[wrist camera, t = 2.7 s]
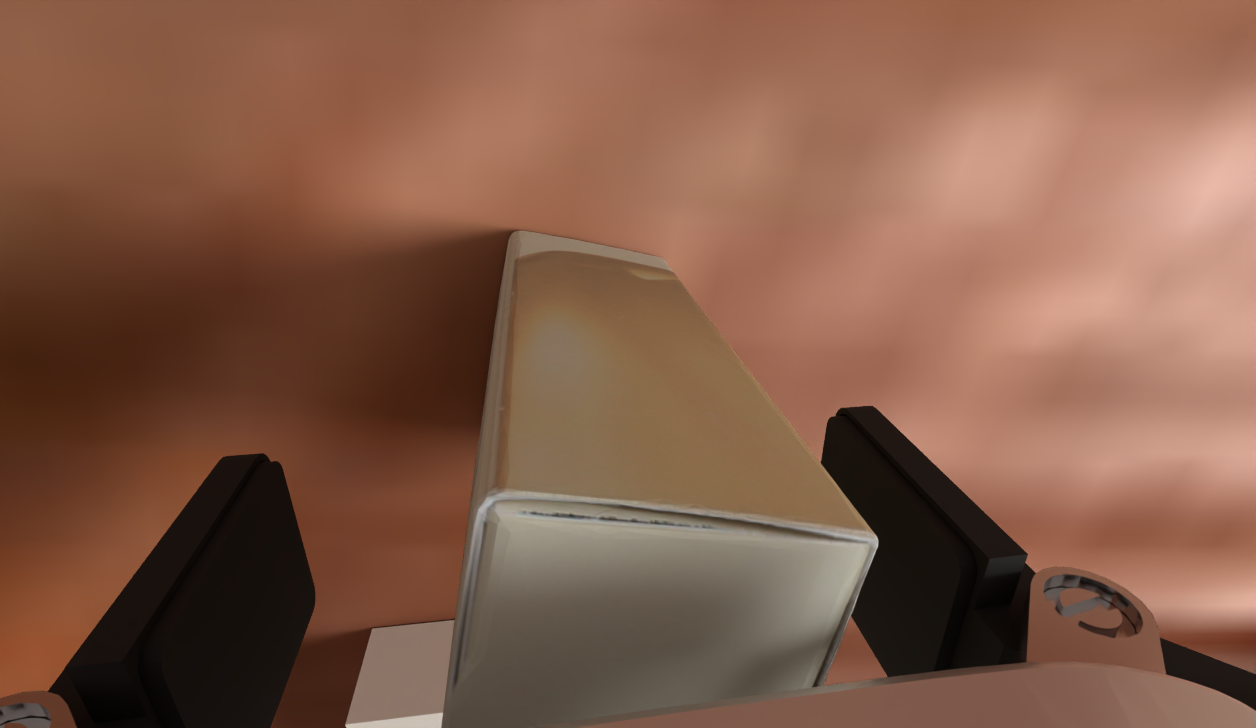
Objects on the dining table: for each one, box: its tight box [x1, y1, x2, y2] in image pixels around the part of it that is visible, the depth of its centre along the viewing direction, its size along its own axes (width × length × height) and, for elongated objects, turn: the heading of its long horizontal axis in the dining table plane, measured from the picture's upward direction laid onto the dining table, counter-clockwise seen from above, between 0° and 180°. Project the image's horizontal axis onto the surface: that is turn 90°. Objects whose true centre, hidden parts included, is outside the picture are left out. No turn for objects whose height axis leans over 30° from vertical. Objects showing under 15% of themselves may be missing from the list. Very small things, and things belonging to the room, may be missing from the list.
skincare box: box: [441, 231, 878, 728], centre depth 13 cm, size 6×4×12 cm
